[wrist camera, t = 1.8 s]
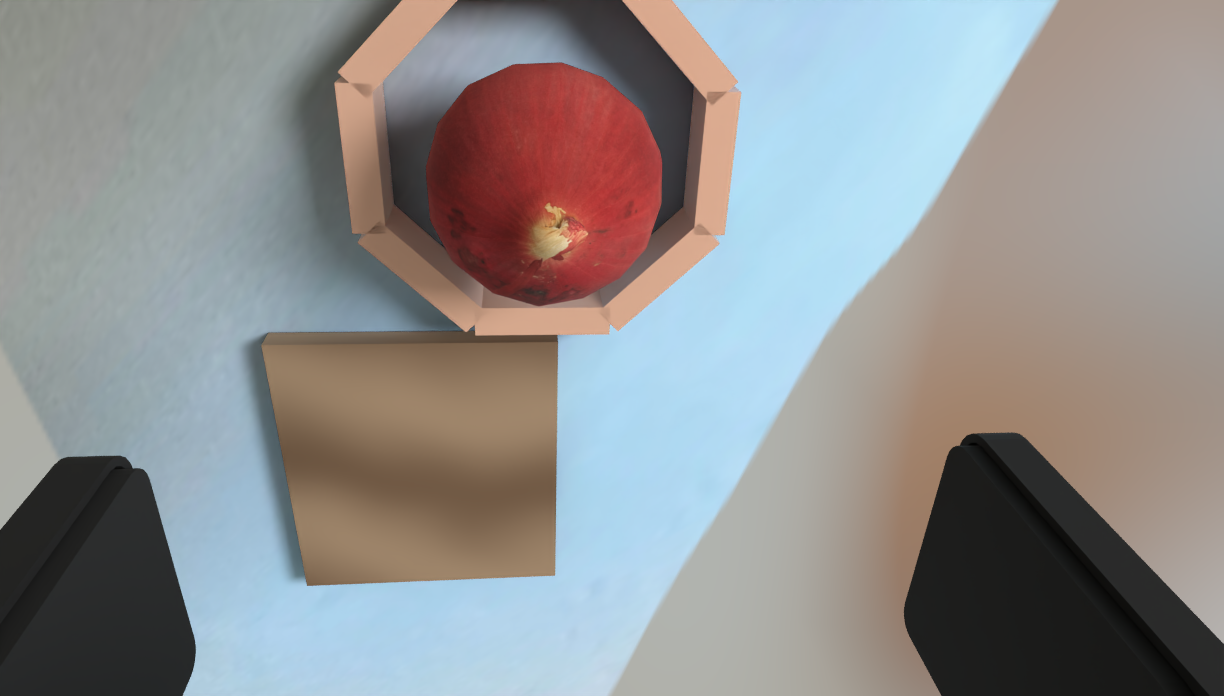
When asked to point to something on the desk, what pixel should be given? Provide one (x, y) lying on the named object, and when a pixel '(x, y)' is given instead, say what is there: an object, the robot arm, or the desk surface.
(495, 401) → the board
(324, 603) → the desk surface
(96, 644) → the robot arm
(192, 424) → the desk surface
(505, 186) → the onion
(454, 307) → the ring holder
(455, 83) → the desk surface
